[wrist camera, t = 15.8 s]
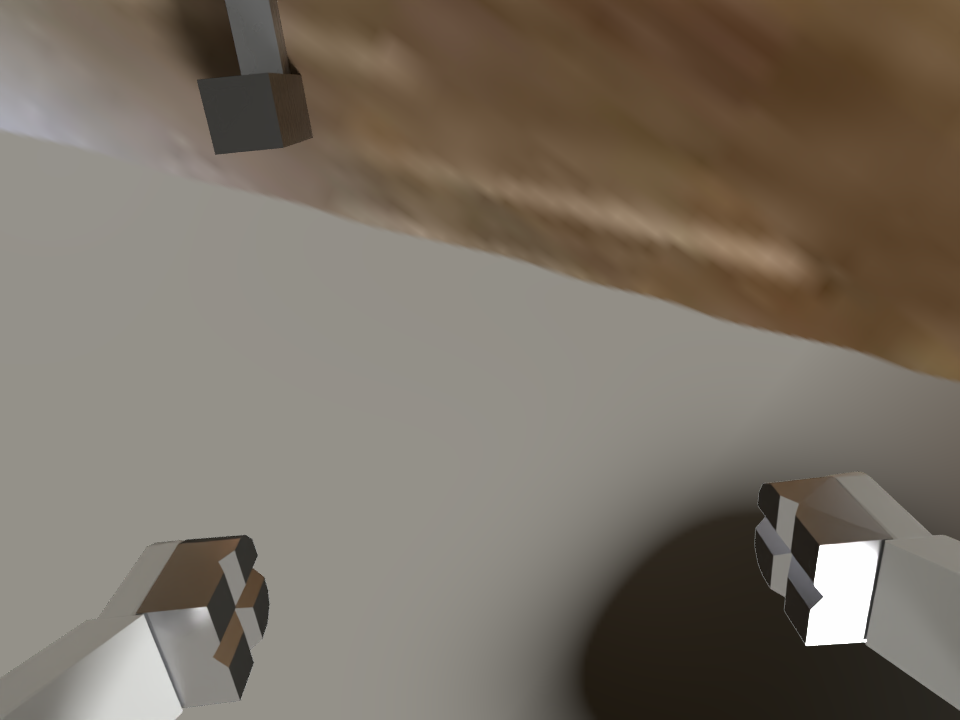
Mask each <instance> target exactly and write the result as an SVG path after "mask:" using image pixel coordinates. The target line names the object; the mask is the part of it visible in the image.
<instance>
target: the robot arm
mask: <svg viewBox="0 0 960 720" xmlns="http://www.w3.org/2000/svg"><path fill="white" fill-rule="evenodd" d="M758 507H759V508H760V509H761V511H762V512H763V514H764V515H765V518H764V519H763V520H762V522H761V523H760V524H759V525H758V526H757V527H756V529H755V550H756V556H757V561H758V565H759V567H760V570H761V572H762V575H763V577H764V579H765V580H766V582H767V584H768V585H769V587H770V588H771V589H772V590H774V591H775V592H777V593H779V594H781V595H783V596H784V597H785V606H784V611H785V613H786V615H787V616H788V618H789V619H790V621H791V622H792V624H793V625H794V627H795V629H796V630H797V632H798V634H799V635H800V636H801V638H802V640H803V641H804V643H805V645H820V644H835V643H849V642H864V641H866V643H865V644H866V645H867V646H869V647H870V648H871V649H873V650H875V651H876V652H877V653H879V654H880V655H881V656H883V657H885V658H886V659H887V660H889V661H890V662H892V663H893V664H894V665H896V666H897V667H899V668H900V669H901V670H903V671H904V672H906V673H907V674H909V675H910V676H911V677H913V678H914V679H916V680H917V681H919V682H920V683H921V684H923V685H924V686H926V687H927V688H929V689H930V690H931V691H933V692H935V693H936V694H937V695H939V696H940V697H941V698H943V699H944V700H946V701H947V702H949V703H950V704H951V705H953V706H954V707H956V708H957V709H959V710H960V541H958V540H955V539H953V538H950V537H948V536H945V535H935V536H933V535H932V534H930V533H929V532H928V531H927V530H926V529H925V528H924V527H923V526H922V525H921V524H920V523H919V522H918V521H917V520H916V519H915V518H913V517H912V516H911V515H910V514H909V513H908V512H907V511H906V510H905V509H904V508H903V507H902V506H901V505H899V503H897V502H896V501H895V500H894V499H893V498H892V497H891V496H890V495H889V494H888V493H887V492H886V491H885V490H883V489H882V488H881V487H880V486H879V485H878V484H877V483H876V482H875V481H874V480H873V479H872V478H871V477H870V476H869V475H867V474H865V473H862V472H859V471H858V472H850V473H842V474H835V475H827V476H826V477H819V478H810V479H800V480H790V481H782V482H772V483H764V484H762V486H761V489H760V491H759V497H758ZM257 556H258V554H257V552H256V549H255V546H254V543H253V540H252V539H251V538H250V537H248V536H247V535H239V536H226V537H215V538H214V537H213V538H201V539H188V540H185V541H182V540H178V541H168V542H157V543H154V544H151V545H149V546H147V547H146V549H145V550H144V551H143V553H142V555H141V556H140V557H139V559H138V560H137V562H136V563H135V565H134V566H133V567H132V569H131V570H130V572H129V573H128V575H127V576H126V578H125V579H124V581H123V582H122V584H121V585H120V587H119V588H118V589H117V591H116V592H115V594H114V595H113V597H112V598H111V600H110V601H109V602H108V604H107V605H106V607H105V608H104V610H103V611H102V613H101V614H100V616H99V617H98V618H97V619H92V620H86V621H85V622H83V623H82V624H80V625H79V626H77V627H76V628H74V629H73V630H71V631H70V632H68V633H67V634H65V635H64V636H62V637H61V638H59V639H58V640H56V641H55V642H53V643H52V644H50V645H49V646H47V647H46V648H44V649H43V650H41V651H40V652H38V653H37V654H35V655H34V656H32V657H31V658H29V659H28V660H27V661H25V662H23V663H22V664H21V665H19V666H17V667H16V668H14V669H13V670H11V671H10V672H8V673H7V674H5V675H4V676H3V677H1V678H0V720H175V719H176V718H177V717H178V716H179V715H180V714H181V713H182V712H183V710H182V708H187V707H196V706H203V705H211V704H219V703H227V702H235V701H240V700H241V697H242V694H243V692H244V689H245V686H246V683H247V681H248V678H249V675H250V672H251V669H252V667H253V664H254V661H253V658H252V655H251V652H250V650H251V649H252V648H253V647H254V646H255V645H256V644H257V643H258V642H259V641H261V640H262V639H263V636H264V633H265V630H266V627H267V624H268V615H269V605H270V604H269V594H268V588H267V585H266V582H265V578H264V577H263V576H262V575H261V574H259V573H258V572H257V571H256V570H254V569H253V566H254V564H255V561H256V558H257Z"/></svg>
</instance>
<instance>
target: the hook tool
mask: <svg viewBox="0 0 960 720" xmlns="http://www.w3.org/2000/svg"><path fill="white" fill-rule="evenodd" d="M225 3H226V7H227V12H228V17H229V21H230V26H231V30H232V35H233V39H234V44H235V48H236V53H237V57H238V62H239V66H240V71H241V75H239V76H229V77H220V78H210V79H200V80H197V82H198V86H199V90H200V94H201V98H202V102H203V106H204V110H205V114H206V118H207V122H208V126H209V130H210V135H211V139H212V143H213V147H214V151H215V155H216V154H226V153H236V152H246V151H255V150H265V149H275V148H284V147H287V146H290V145H293V144H296V143H298V142H301V141H304V140H307V139H310V138H313V136H312V131H311V126H310V120H309V115H308V110H307V104H306V99H305V94H304V88H303V83H302V78H301V75H295V74H291V73H290V67H289V62H288V57H287V52H286V47H285V42H284V36H283V31H282V26H281V21H280V16H279V11H278V5H277V0H225Z"/></svg>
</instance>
